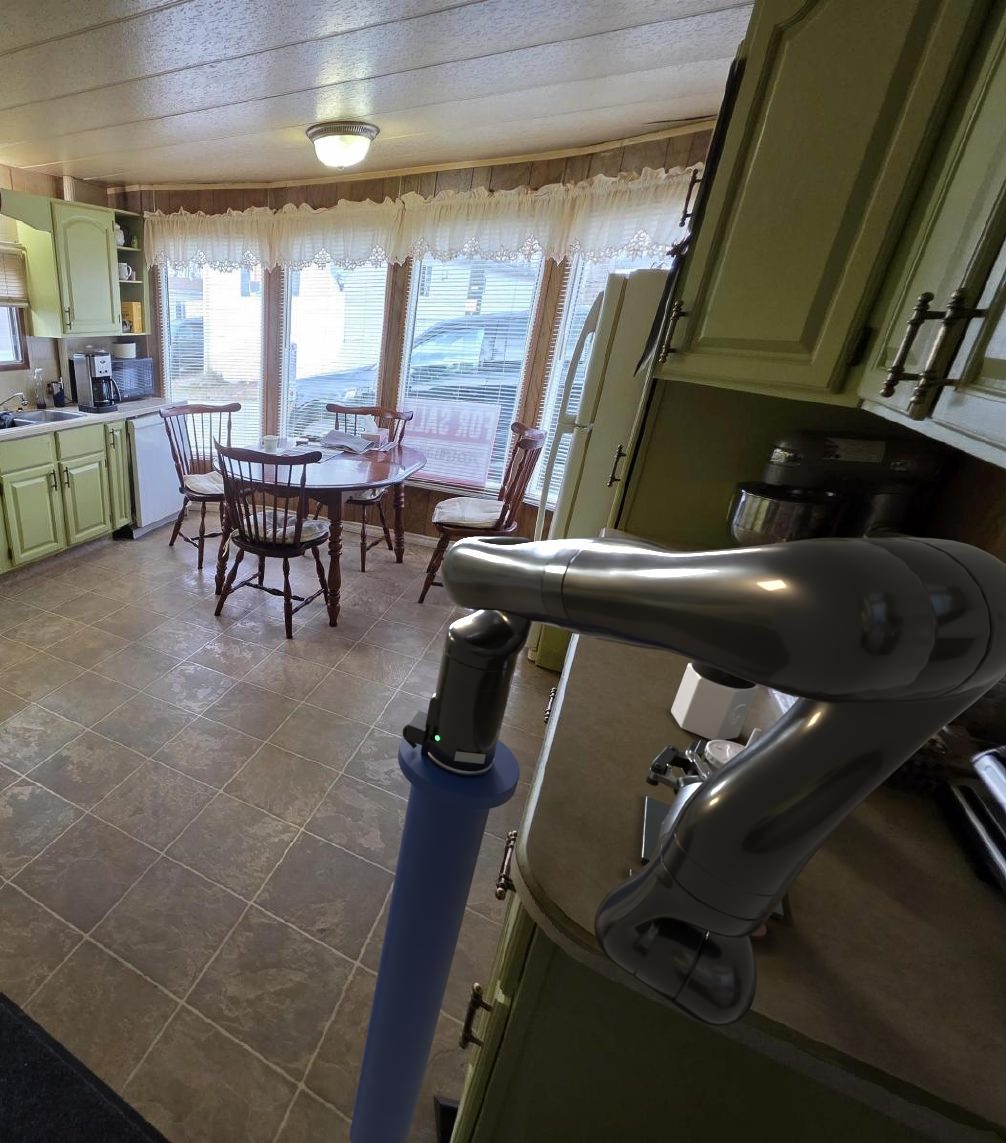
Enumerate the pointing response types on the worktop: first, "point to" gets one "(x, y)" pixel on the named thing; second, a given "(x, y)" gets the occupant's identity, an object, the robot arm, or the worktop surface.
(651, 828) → the slate board
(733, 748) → the smoothie
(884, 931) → the worktop surface
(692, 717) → the jar
